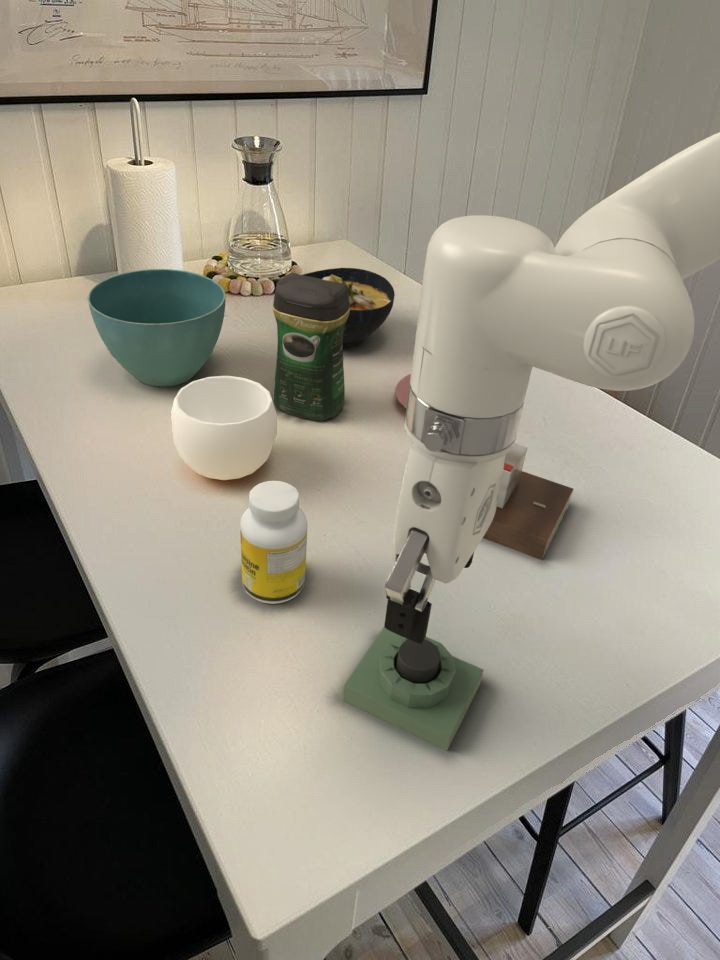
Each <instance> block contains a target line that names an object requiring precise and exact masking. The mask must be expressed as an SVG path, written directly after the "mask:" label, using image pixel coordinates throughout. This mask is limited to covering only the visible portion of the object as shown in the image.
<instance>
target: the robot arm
mask: <svg viewBox="0 0 720 960" xmlns="http://www.w3.org/2000/svg"><path fill="white" fill-rule="evenodd" d="M718 261H720V131H719V132H716V133H714V134H711V135H710V136H708V137H706V138H704V139H702V140H700V141H698V142H696V143H694V144H692V145H690V146H688V147H686V148H685V149H683V150H681V151H679V152H677V153H676V154H674V155H673V156H671V157H669V158H667V159H665V160H664V161H662V162H660V163H659V164H658V165H656V166H654V167H653V168H651V169H648V171H646V172H644V173H643V174H641V175H640V176H639V177H637V178H635V179H634V180H632V181H631V182H629V183H627V184H626V185H624V186H622V187H621V188H619V189H618V190H616V191H614V193H611V194H610V195H608V196H607V197H605V198H604V199H603V200H601V201H600V202H598V203H597V204H595V205H593V206H592V207H591V208H589V209H588V210H586V211H585V212H584V213H583V214H581V216H579V217H578V218H577V219H576V220H575V221H574V222H573V223H572V224H570V226H569V227H568V228H567V229H566V230H565V231H564V233H562V235H561V237H560V238H559V240H558V242H557V243H556V245H555V246H554V244H553V241H552V240H551V239H550V237H549V236H548V235H547V234H546V233H544V232H543V231H542V230H541V229H539V228H537V227H535V226H533V225H531V224H529V223H526V222H524V221H521V220H517V219H514V218H510V217H504V216H500V215H499V216H497V215H489V214H488V215H487V214H473V215H471V214H470V215H463V216H459V217H458V216H457V217H454V218H451V219H449V220H446V221H445V222H443V223H442V224H440V225H439V226H438V227H437V228H436V229H435V231H433V233H432V235H431V237H430V240H429V241H428V244H427V249H426V255H425V261H424V267H423V276H422V284H421V292H420V299H419V306H418V313H417V314H418V315H417V321H416V332H415V338H414V339H415V340H414V348H413V355H412V356H413V357H412V363H411V369H410V374H411V378H410V385H409V393H408V401H407V408H405V409H406V410H405V418H404V432H405V434H406V436H407V438H408V439H409V440H410V441H411V443H410V448H409V451H408V455H407V458H406V464H405V466H404V471H403V472H404V473H403V477H402V481H401V486H400V491H399V495H398V501H397V506H396V512H395V519H394V525H393V531H392V532H393V534H392V541H391V542H392V543H391V556H392V559H393V561H394V562H395V563H394V564H393V567H392V568H391V570H390V573H389V574H388V577H387V579H386V581H385V584H384V590H385V594H386V595H385V597H386V598H385V599H387V602H386V610H385V617H384V626H385V628H386V629H387V630H389V631H391V632H393V633H396V634H397V635H400V636H402V637H405V638H407V639H409V640H411V641H414V642H416V643H418V644H422V643H423V641H424V640H425V638H426V637H427V632H428V627H429V621H430V616H431V610H432V605H433V603H431V602H430V601H429V599H430V597H431V593H432V591H433V588H434V585H435V583H436V581H438V582H441V583H443V584H449V583H452V582H453V581H455V580H456V579H457V578H458V577H459V576H460V574H461V573H462V571H463V570H464V569H468V568H470V566H471V565H472V564H473V559H474V555H475V551H476V550H477V548H478V546H479V544H480V543H481V541H482V540H483V539H484V538H483V536H484V535H485V533H486V531H487V530H488V528H489V526H490V524H491V522H492V520H493V518H494V515H495V512H496V507H497V502H498V496H499V491H500V485H501V479H502V474H503V468H504V462H505V456H506V454H507V453H508V452H509V451H510V450H511V449H512V447H513V446H514V443H515V444H516V439H517V434H518V429H519V426H520V421H521V417H522V413H523V408H524V404H525V400H526V395H527V391H528V386H529V383H530V379H531V375H532V371H533V368H536V369H539V370H541V371H544V372H547V373H550V374H552V375H555V376H558V377H561V378H564V379H567V380H570V381H572V382H575V383H578V384H580V385H581V384H582V385H585V386H587V387H591V388H595V389H600V390H607V391H615V392H625V391H626V392H627V391H636V390H641V389H645V388H649V387H651V386H653V385H656V384H658V383H660V382H662V381H664V380H665V379H667V378H668V377H669V376H670V375H672V374H673V373H674V372H675V371H676V370H677V369H678V368H679V367H680V366H681V365H682V363H683V362H684V360H685V359H686V358H687V355H688V353H689V351H690V349H691V347H692V345H693V340H694V336H695V335H694V334H695V313H694V307H693V304H692V300H691V297H690V294H689V292H688V289H687V287H686V285H685V282H684V280H685V279H687V278H688V277H690V276H692V275H694V274H696V273H698V272H699V271H701V270H703V269H705V268H707V267H708V266H711V265H712V264H715V263H717V262H718ZM424 555H426V560H427V563H428V564H427V563H424V562H421V561H422V560H423V557H424ZM416 572H418V573H420V574H424V575H425V577H424V580H423V583H422V584H421V588H420V591H417V590H415V589H412V580H413V578H414V575H415V573H416Z"/></svg>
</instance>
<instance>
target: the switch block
mask: <svg viewBox="0 0 720 960" xmlns="http://www.w3.org/2000/svg"><path fill="white" fill-rule="evenodd" d="M425 639H426V640H428V641H430V642H432V643H433V644H434V645H435V646H436V647H437V648H438V650H439V652H440V662H439V667H438V671H437V674H436V676H435V677H434V678H433V679H432V680H431V681H429V682H426V683H413V682H410V681H408V680H406V679H404V678H403V677H402V676H401V675H400V674H399V672H398V670H397V658H398V651H399V648H400V646H401V644H402V643H403V642H405V641H406V640H408V639H407V638H405V637H402V636H400V635H397V634H396V633H393V632H391V631H389V630H387V629H386V628H385V625H383V627H382V629H381V630H380V632H379V633H378V635H377V636H376V638H375V639H374V640H373V642H372V643H371V645H370V646H369V648H368V650H367V651H366V652H365V654H364V655H363V656H362V658H361V659H360V661H359V662H358V664H357V666H356V667H355V668H354V670H353V671H352V673H351V674H350V676H349V677H348V679H347V680H346V682H345V683H344V685H343V692H342V693H343V694H342V701H343V702H345V703H347V704H349V705H351V706H354V707H355V708H357V709H360V710H361V711H364V712H365V713H368V714H370V715H372V716H373V717H376V718H378V719H380V720H382V721H384V722H386V723H388V724H391V725H392V726H395V727H396V728H399V730H400V729H401V730H402V731H405V732H406V733H409V734H411V735H413V736H415V737H416V738H419V739H421V740H423V741H425V742H427V743H428V744H430V745H433V746H435V747H438V748H439V749H440V750H441V749H442V750H443V751H446V752H447V751H448V750H449V748H450V746H451V744H452V742H453V740H454V738H455V736H456V735H457V732H458V730H459V728H460V726H461V724H462V723H463V720H464V718H465V716H466V713H467V712H468V710H469V708H470V706H471V704H472V702H473V700H474V698H475V696H476V694H477V692H478V690H479V688H480V686H481V682H482V679H483V675H484V669H483V668H481V667H478V666H477V665H474V664H472V663H470V662H467V661H465V660H463V659H461V658H459V657H457V656H453V654H452V653H451V652H449V650H448V649H447V648H446V647H445V646H444V645H443V643H441V642H439V641H437V640H435V639H432V638H430V637H428V636H426V638H425Z"/></svg>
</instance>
